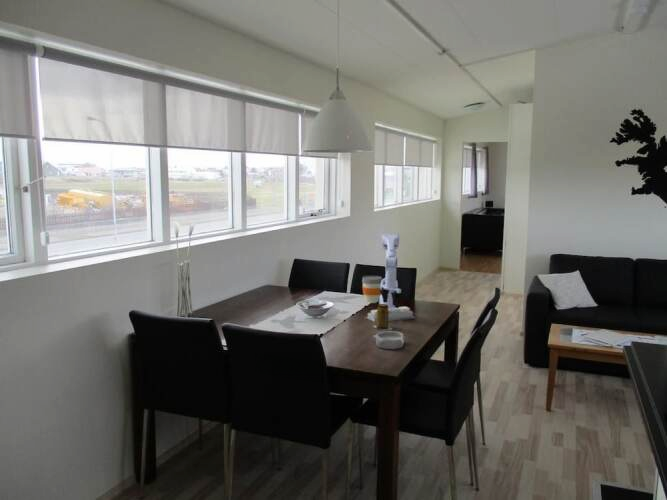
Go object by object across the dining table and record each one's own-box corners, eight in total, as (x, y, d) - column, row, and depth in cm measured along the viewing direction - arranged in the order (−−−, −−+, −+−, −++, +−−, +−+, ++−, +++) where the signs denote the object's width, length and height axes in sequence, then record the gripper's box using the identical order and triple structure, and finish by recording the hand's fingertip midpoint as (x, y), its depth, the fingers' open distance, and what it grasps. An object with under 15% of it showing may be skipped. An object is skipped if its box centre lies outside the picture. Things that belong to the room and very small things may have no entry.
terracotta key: (380, 314, 300) (380, 309, 300) (386, 313, 302) (387, 308, 302) (384, 316, 296) (384, 311, 296) (391, 315, 298) (391, 310, 298)
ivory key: (398, 312, 305) (398, 307, 305) (405, 311, 307) (405, 306, 307) (402, 314, 301) (403, 309, 301) (409, 313, 303) (409, 308, 303)
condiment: (384, 325, 287) (385, 302, 285) (393, 329, 279) (394, 306, 277) (372, 326, 283) (373, 304, 282) (381, 331, 276) (381, 307, 274)
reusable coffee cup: (385, 300, 340) (386, 277, 338) (375, 304, 329) (376, 280, 327) (367, 298, 346) (368, 274, 344) (357, 301, 336) (358, 277, 334)
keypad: (364, 317, 300) (364, 312, 300) (403, 312, 312) (404, 307, 311) (375, 323, 290) (375, 317, 289) (416, 317, 301) (416, 312, 301)
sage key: (370, 315, 297) (370, 310, 297) (377, 314, 299) (377, 309, 299) (374, 317, 293) (375, 312, 293) (381, 316, 295) (382, 311, 295)
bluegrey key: (389, 313, 303) (389, 308, 302) (396, 312, 305) (396, 307, 304) (393, 315, 299) (393, 310, 298) (400, 314, 301) (400, 309, 300)
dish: (402, 340, 261) (402, 330, 260) (407, 350, 247) (407, 339, 246) (372, 340, 260) (372, 330, 260) (375, 350, 247) (375, 339, 246)
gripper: (376, 277, 299) (375, 301, 300) (394, 282, 287) (393, 307, 289) (386, 276, 303) (385, 300, 305) (404, 280, 291) (403, 305, 293)
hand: (389, 303), depth 297 cm, fingers open, 7 cm apart
